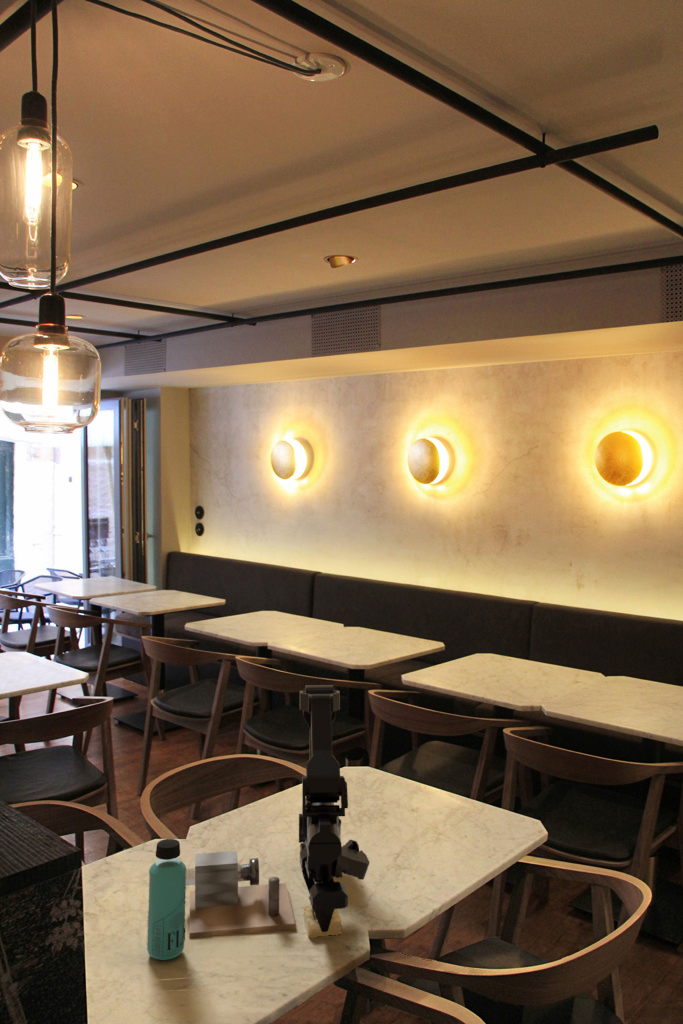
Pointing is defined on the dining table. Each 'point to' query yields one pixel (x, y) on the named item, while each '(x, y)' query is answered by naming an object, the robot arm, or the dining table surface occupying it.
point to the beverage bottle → (166, 902)
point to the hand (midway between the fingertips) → (322, 922)
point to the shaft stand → (234, 900)
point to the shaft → (244, 873)
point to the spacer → (313, 925)
